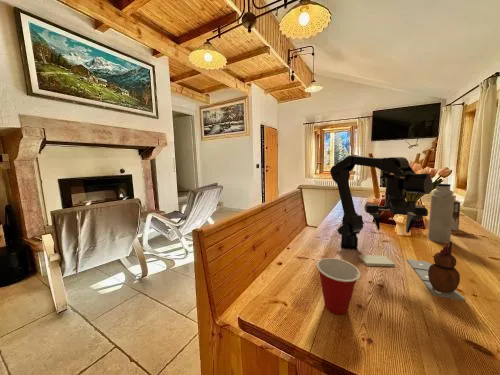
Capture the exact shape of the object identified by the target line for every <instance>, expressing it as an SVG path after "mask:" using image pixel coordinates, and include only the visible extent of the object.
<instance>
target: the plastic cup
mask: <svg viewBox="0 0 500 375" xmlns="http://www.w3.org/2000/svg"><path fill="white" fill-rule="evenodd" d="M316 268H317V270H318V274H319V278H320V284H321V290H322V296H323V300H324V301H323V302H324V306H325V308H326V309H327V311H328V312H330V313H332V314H333V315H337V316H341V315H345V314H347V313H348V310H349V307H350V303H351V300H352V296H353V292H354V288H355V284H356V283H357V281H358V280H359V278H361V277H360V276H361V272H360V270H359V268H358V267H357V266H356V265H354V264H352V263H351V262H348V261H346V260H342V259H341V258H333V257H324V258H321V259H319V260H318V261H317V262H316Z"/></svg>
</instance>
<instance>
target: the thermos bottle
mask: <svg viewBox="0 0 500 375" xmlns="http://www.w3.org/2000/svg"><path fill="white" fill-rule="evenodd" d="M451 186H452V185H451V184H450V183H437V184H436V188H435V189H434V190H433V194H431V196H430V207H429V211H430V212H429V221H428V222H429V223H428V237H427V238H428V240H429V241H432V242H437V243H443V244H446V243H448V244H450V241H451V237H452V236H451V235H452V230H451V226H452V215H453V204H454V201H455V196H454V195H453V191H452V190H451Z"/></svg>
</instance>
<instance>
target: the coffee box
mask: <svg viewBox="0 0 500 375" xmlns="http://www.w3.org/2000/svg"><path fill="white" fill-rule="evenodd" d="M460 209H461V202H460V201H457V200H454V204H453V215H452V226H451V231H456V232H457V231H459V228H460V227H459V225H460V214H461V212H460V211H461V210H460Z"/></svg>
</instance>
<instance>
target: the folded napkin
mask: <svg viewBox="0 0 500 375" xmlns="http://www.w3.org/2000/svg"><path fill="white" fill-rule="evenodd" d="M358 257H359V259H360V260H361V262H363V264H365V265H366V266H371V267H393V268H394V267H396V266H395V265H396V264H395V263H394V262H393V261H392V260H390V259H389V258H388V257H387V256H386V255H376V254H375V255H372V254H359V255H358Z"/></svg>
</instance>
